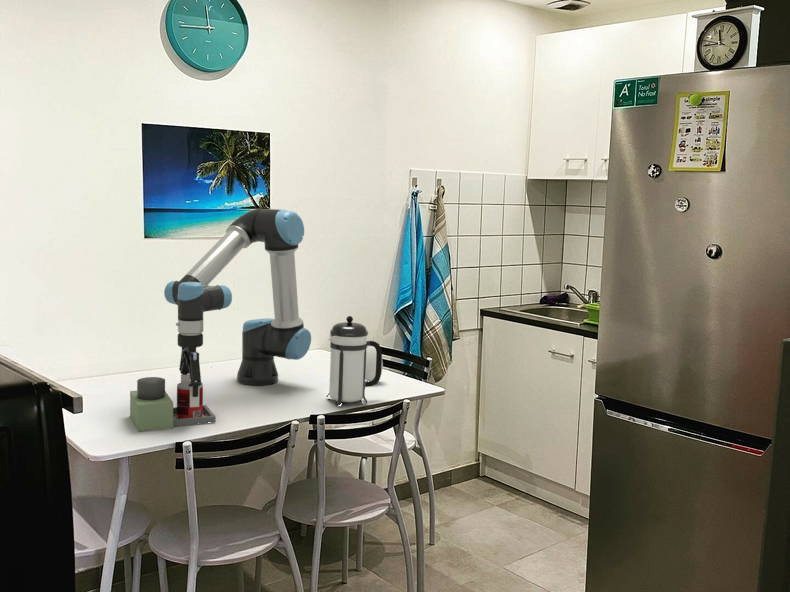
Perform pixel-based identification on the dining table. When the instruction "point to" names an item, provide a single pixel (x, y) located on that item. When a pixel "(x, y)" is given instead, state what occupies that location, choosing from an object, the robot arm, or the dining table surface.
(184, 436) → the dining table surface
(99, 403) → the dining table surface
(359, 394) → the coffee press
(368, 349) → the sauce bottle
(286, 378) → the dining table surface
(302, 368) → the dining table surface
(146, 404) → the capped block with tray
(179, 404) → the canned food
